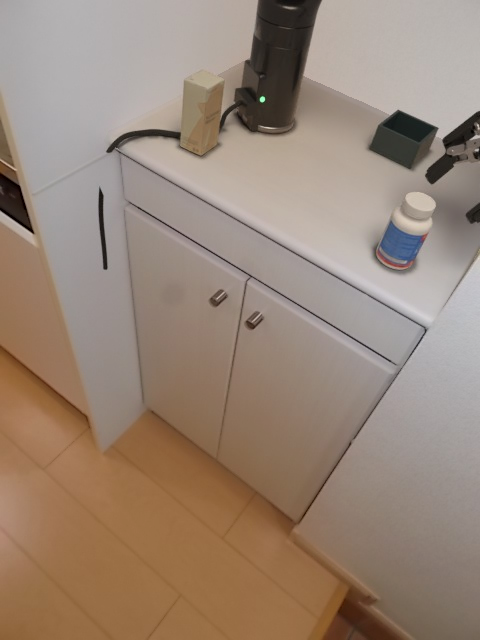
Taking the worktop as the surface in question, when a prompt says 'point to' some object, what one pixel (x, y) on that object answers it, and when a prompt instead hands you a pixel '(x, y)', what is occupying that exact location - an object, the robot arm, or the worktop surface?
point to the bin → (403, 138)
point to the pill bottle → (406, 231)
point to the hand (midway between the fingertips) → (447, 199)
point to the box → (201, 111)
